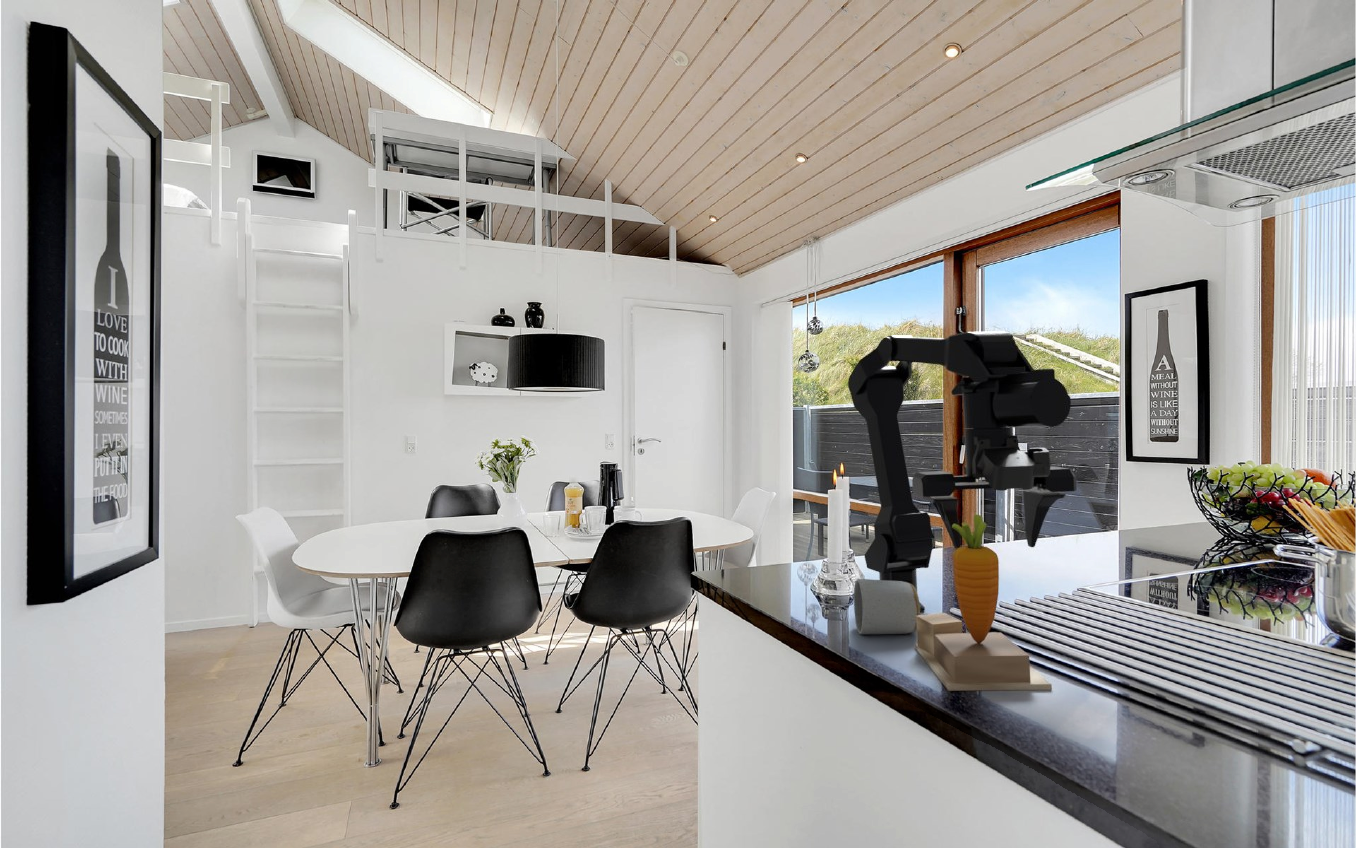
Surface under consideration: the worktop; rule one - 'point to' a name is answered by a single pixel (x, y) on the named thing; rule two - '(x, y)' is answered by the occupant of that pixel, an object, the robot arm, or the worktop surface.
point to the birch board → (1035, 679)
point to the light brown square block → (982, 659)
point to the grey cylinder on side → (885, 607)
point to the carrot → (976, 580)
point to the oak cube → (935, 629)
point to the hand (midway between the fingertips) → (994, 548)
